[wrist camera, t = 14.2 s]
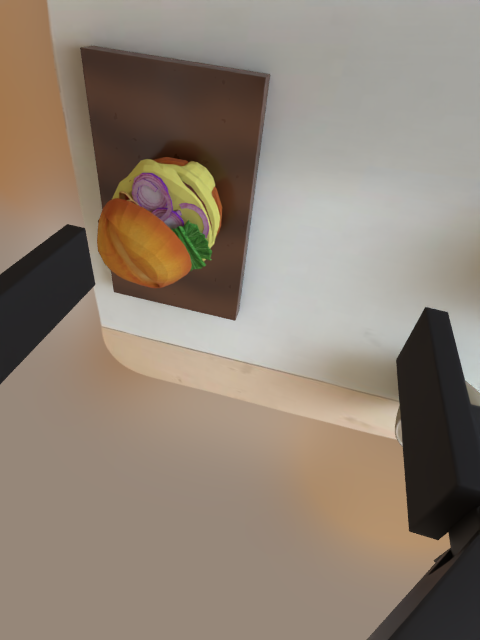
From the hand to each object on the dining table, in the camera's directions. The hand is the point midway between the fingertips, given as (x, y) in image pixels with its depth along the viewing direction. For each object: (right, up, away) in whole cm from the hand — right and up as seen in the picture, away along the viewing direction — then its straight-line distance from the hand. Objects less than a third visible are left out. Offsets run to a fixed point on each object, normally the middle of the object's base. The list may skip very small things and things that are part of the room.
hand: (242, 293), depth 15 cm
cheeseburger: (-6, +10, +22) cm, 25 cm away
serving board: (-6, +11, +23) cm, 26 cm away
